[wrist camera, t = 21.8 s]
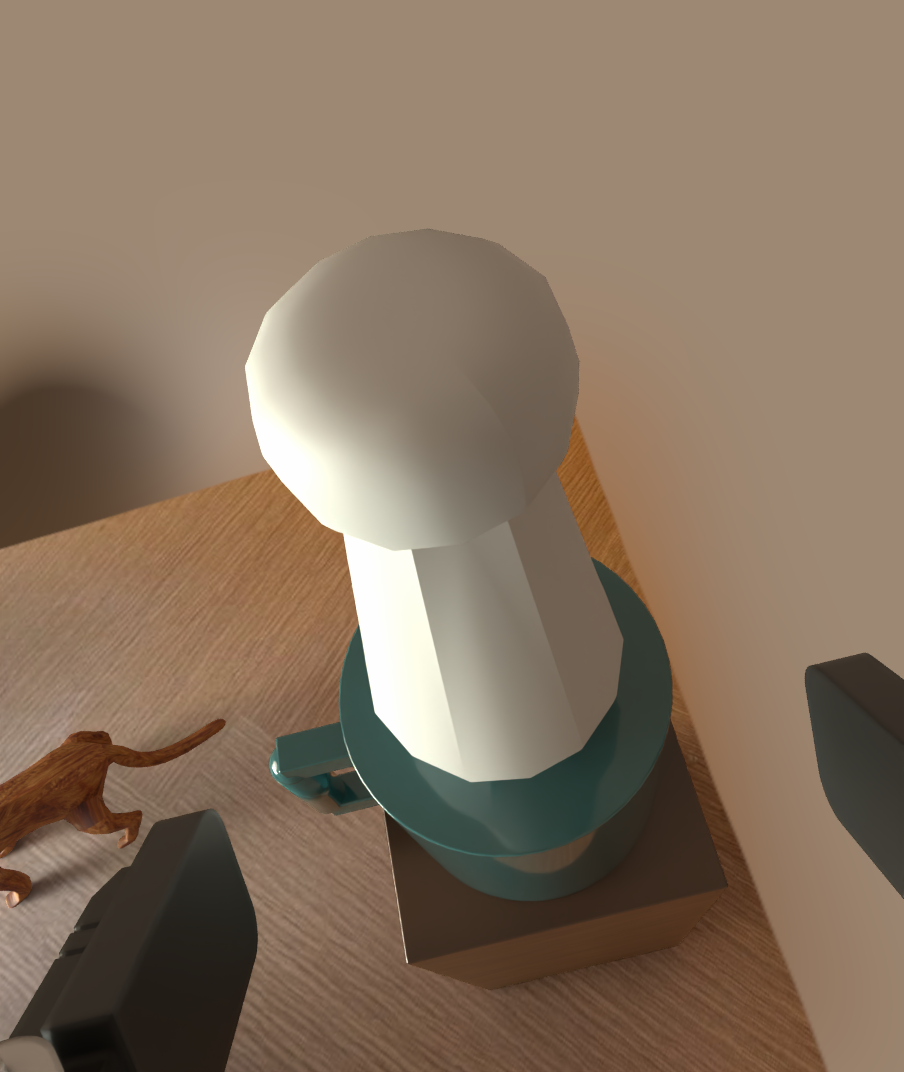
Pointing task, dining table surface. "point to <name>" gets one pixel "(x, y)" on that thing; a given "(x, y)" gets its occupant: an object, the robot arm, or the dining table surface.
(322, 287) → the salt shaker
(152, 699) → the dining table surface
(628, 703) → the white-topped teal cylinder
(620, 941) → the stand
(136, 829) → the cat figurine
